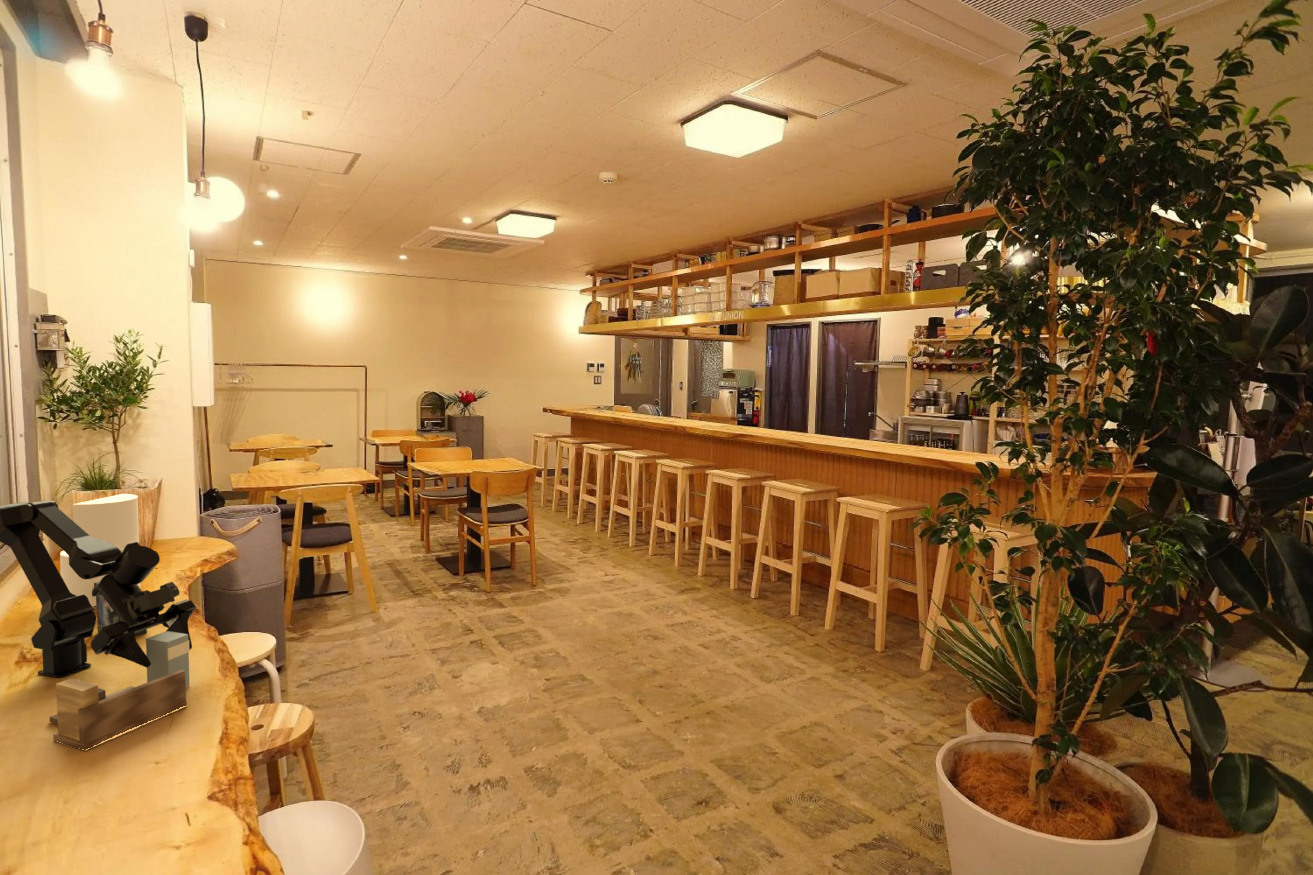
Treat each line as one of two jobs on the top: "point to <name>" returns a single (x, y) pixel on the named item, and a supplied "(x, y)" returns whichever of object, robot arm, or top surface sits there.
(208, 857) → the top surface
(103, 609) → the small box
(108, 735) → the wooden l-bracket
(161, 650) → the grey upright block
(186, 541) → the top surface
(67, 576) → the cylinder
